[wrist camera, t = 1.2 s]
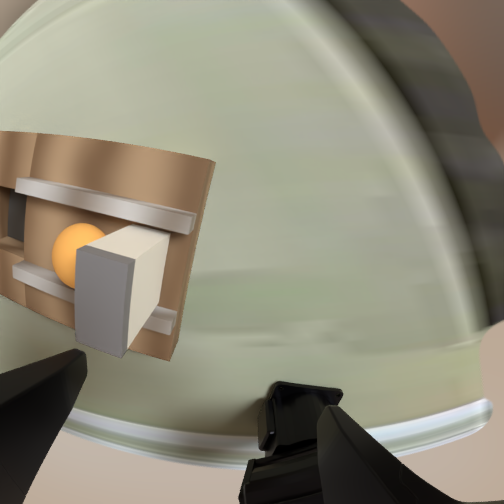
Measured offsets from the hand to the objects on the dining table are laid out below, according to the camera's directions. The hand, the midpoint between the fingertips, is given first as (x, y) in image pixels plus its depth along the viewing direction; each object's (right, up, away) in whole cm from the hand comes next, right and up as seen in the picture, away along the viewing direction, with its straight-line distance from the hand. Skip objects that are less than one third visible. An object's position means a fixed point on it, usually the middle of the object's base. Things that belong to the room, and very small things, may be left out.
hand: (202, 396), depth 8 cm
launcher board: (-12, +6, +12) cm, 18 cm away
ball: (-9, +4, +7) cm, 12 cm away
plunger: (-5, +4, +9) cm, 11 cm away
